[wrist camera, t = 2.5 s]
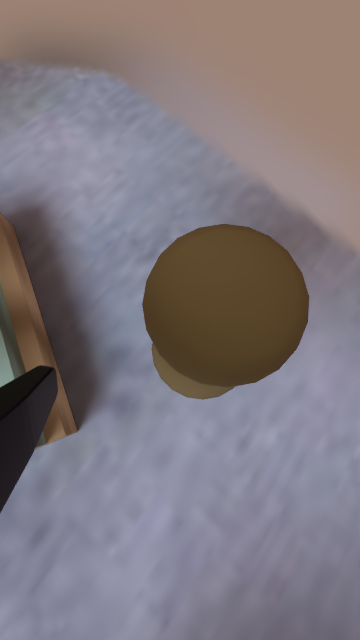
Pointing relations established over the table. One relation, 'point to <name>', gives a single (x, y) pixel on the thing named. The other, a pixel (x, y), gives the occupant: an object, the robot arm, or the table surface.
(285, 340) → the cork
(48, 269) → the table surface
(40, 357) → the dock
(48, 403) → the robot arm
